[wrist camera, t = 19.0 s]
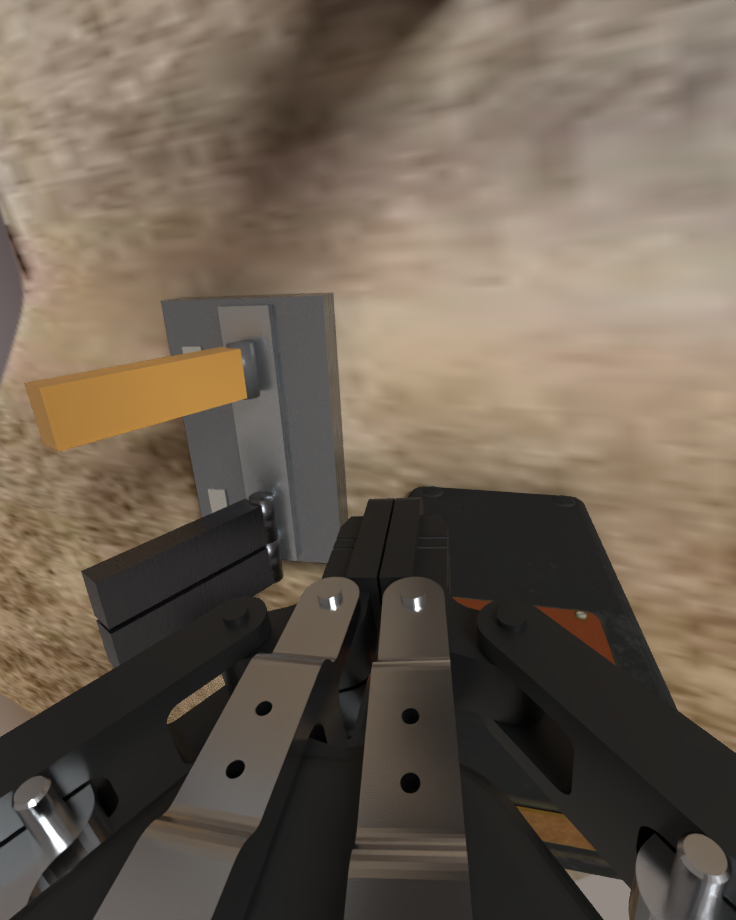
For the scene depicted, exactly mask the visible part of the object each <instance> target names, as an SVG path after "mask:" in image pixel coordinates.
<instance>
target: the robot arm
mask: <svg viewBox="0 0 736 920" xmlns="http://www.w3.org/2000/svg"><path fill="white" fill-rule="evenodd" d="M336 539H337V540H336V541H335V544H334V546H333V550H332V552H331V555H330V557H329V560H328V563H327V566H326V568H325V571H324V574H323V577H322V579H321V580H318V581H316V582H314V583H313V584H311V585H310V586H309V587H307V588H306V590H305V591H304V592H303V594H302V596H301V598H300V600H299V602H298V603H297V604H295V605H293V606H289V607H285V608H281V609H277V610H272V611H268V612H267V608H266V605H265V603H264V602H263V601H262V600H260V599H259V598H256V597H251V596H244V597H237V598H234V599H231V600H228V601H226V602H224V603H222V604H221V605H219V606H217V607H216V608H214V609H212V610H211V611H209V612H207V613H206V614H204V615H202V616H201V617H199V618H197V619H196V620H194V621H192V622H191V623H189V624H187V625H186V626H184V627H182V628H181V629H179V630H177V631H176V632H174V633H172V634H171V635H169V636H167V637H166V638H164V639H162V640H161V641H159V642H157V643H156V644H154V645H152V646H151V647H149V648H148V649H146V650H144V651H143V652H141V653H139V654H138V655H136V656H134V657H133V658H131V659H129V660H128V661H126V662H124V663H123V664H121V665H119V666H118V667H116V668H114V669H113V670H111V671H109V672H108V673H106V674H104V675H103V676H101V677H99V678H98V679H96V680H94V681H93V682H91V683H89V684H88V685H86V686H84V687H83V688H81V689H79V690H78V691H76V692H74V693H73V694H71V695H69V696H68V697H66V698H64V699H63V700H61V701H59V702H58V703H56V704H54V705H53V706H51V707H49V708H48V709H46V710H44V711H43V712H41V713H39V714H38V715H36V716H35V717H33V718H31V719H30V720H28V721H27V722H25V723H23V724H21V725H20V726H18V727H16V728H15V729H13V730H11V731H10V732H8V733H6V734H5V735H3V736H1V737H0V920H603V918H602V917H601V916H600V914H599V913H598V912H597V911H596V910H595V908H594V907H593V905H592V904H591V903H590V902H589V900H588V899H587V898H586V896H585V895H584V894H583V893H582V891H581V890H580V889H579V887H578V886H577V885H576V884H575V882H574V881H573V880H572V878H571V877H570V876H569V874H568V873H567V872H566V871H565V869H564V868H563V867H562V865H561V864H560V863H559V862H558V860H557V859H556V858H555V856H554V855H553V854H552V852H551V851H550V850H549V849H548V847H547V846H546V845H545V843H544V842H543V841H542V840H541V838H540V837H539V836H538V834H537V833H536V832H535V830H534V829H533V828H532V827H531V825H530V824H529V823H528V821H527V820H526V819H525V817H524V816H523V815H522V814H521V812H520V811H519V810H518V808H517V807H516V806H515V805H514V803H513V802H512V801H511V800H510V799H509V798H508V797H507V796H506V795H505V794H504V793H503V792H502V791H501V790H500V789H499V787H497V786H496V785H495V784H494V783H492V782H491V781H490V780H489V779H487V778H486V777H484V776H483V775H481V774H480V773H478V772H476V771H475V770H473V769H471V768H469V767H467V766H465V765H463V764H460V763H459V756H458V745H457V733H456V722H455V710H454V705H455V706H457V707H460V708H463V709H466V710H469V711H471V712H474V713H477V714H480V715H481V717H482V720H483V723H484V725H485V727H486V728H487V729H488V731H489V732H490V733H491V734H492V735H493V736H494V737H495V738H496V740H497V741H498V742H499V743H500V744H501V745H502V746H503V747H504V748H505V750H506V751H507V752H508V753H509V754H510V755H511V756H512V757H513V758H514V760H515V761H516V762H517V763H518V764H519V765H520V766H521V767H522V768H523V770H524V771H525V772H526V773H527V774H528V775H529V776H530V777H531V778H532V780H533V781H534V782H535V783H536V784H537V785H538V786H539V787H540V788H541V790H542V791H543V792H544V793H545V794H546V795H547V796H548V797H549V798H550V800H551V801H552V802H553V803H554V804H555V805H556V806H557V807H558V808H559V810H560V811H561V812H562V813H563V814H564V815H565V816H566V817H567V819H568V820H569V821H570V822H571V823H572V824H573V825H574V826H575V827H576V829H577V830H578V831H579V832H580V833H581V834H582V835H583V836H584V837H585V839H586V840H587V841H588V842H589V843H590V844H591V845H592V846H593V847H594V849H595V850H596V851H597V852H598V853H599V854H600V855H601V856H602V857H603V859H604V860H605V861H606V862H607V863H608V864H609V865H610V866H611V867H612V869H613V870H614V871H615V872H616V873H617V874H618V875H619V876H620V877H621V879H622V880H623V881H624V882H625V883H626V884H627V885H628V886H629V887H630V889H631V892H630V898H629V918H630V920H736V753H735V752H733V751H732V750H731V749H729V748H728V747H727V746H725V745H724V744H723V743H721V742H720V741H718V740H717V739H716V738H714V737H713V736H712V735H710V734H709V733H708V732H706V731H705V730H703V729H702V728H701V727H699V726H698V725H697V724H695V723H694V722H692V721H691V720H690V719H688V718H687V717H686V716H684V715H683V714H682V713H680V712H679V711H677V710H676V709H675V708H673V707H672V706H671V705H669V704H668V703H666V702H665V701H664V700H662V699H661V698H660V697H658V696H657V695H656V694H654V693H653V692H651V691H650V690H649V689H647V688H646V687H645V686H643V685H642V684H640V683H639V682H638V681H636V680H635V679H634V678H632V677H631V676H630V675H628V674H627V673H625V672H624V671H623V670H621V669H620V668H619V667H617V666H616V665H614V664H613V663H612V662H610V661H609V660H608V659H606V658H605V657H604V656H602V655H601V654H599V653H598V652H597V651H595V650H594V649H593V648H591V647H590V646H588V645H587V644H586V643H584V642H583V641H582V640H580V639H579V638H578V637H576V636H575V635H573V634H572V633H571V632H569V631H568V630H567V629H565V628H564V627H562V626H561V625H560V624H558V623H557V622H556V621H554V620H553V619H552V618H550V617H549V616H547V615H546V614H545V613H543V612H542V611H541V610H539V609H538V608H536V607H535V606H533V605H532V604H529V603H527V602H524V601H521V600H516V599H500V600H496V601H493V602H490V603H488V604H487V605H485V606H484V607H483V608H482V609H481V610H476V609H472V608H469V607H466V606H464V605H462V604H460V603H459V602H457V601H456V600H455V599H453V598H452V596H451V594H450V592H451V564H450V550H449V535H448V524H447V523H446V521H445V520H444V519H443V517H442V516H441V514H431V515H424V512H423V502H422V498H421V497H417V498H396V499H394V498H389V499H369V500H368V503H367V507H366V510H365V513H364V516H357V517H350V518H349V519H348V520H347V521H346V522H345V523H344V524H343V525H342V526H341V527H340V530H339V533H338V536H337V538H336ZM375 654H378V660H375ZM220 674H222V676H223V679H224V682H225V684H226V685H225V686H223V687H222V688H221V689H219V690H218V691H216V692H215V693H214V694H212V695H211V696H209V697H208V698H207V699H205V700H204V701H202V702H201V703H200V704H198V705H197V706H195V707H194V708H192V709H191V710H190V711H188V712H187V713H185V714H184V715H183V716H181V717H180V718H178V719H177V720H176V721H174V722H172V723H170V724H167V718H168V716H169V714H170V712H171V710H172V709H173V708H174V707H175V706H176V705H177V704H178V703H180V702H181V701H183V700H184V699H185V698H187V697H188V696H190V695H191V694H193V693H194V692H196V691H197V690H198V689H200V688H201V687H203V686H204V685H206V684H207V683H209V682H210V681H211V680H213V679H214V678H216V677H217V676H219V675H220ZM368 701H369V702H368ZM367 705H368V713H367V724H366V735H365V745H360V746H357V743H358V739H359V736H360V732H361V728H362V724H363V720H364V717H365V713H366V709H367Z"/></svg>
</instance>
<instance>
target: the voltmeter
mask: <svg viewBox="0 0 736 920" xmlns="http://www.w3.org/2000/svg"><path fill="white" fill-rule="evenodd" d="M417 497H421V498H422V502H423V512H424V515H431V514H441V516H442V517H443V519H444V520H445V521H446V523H447V524H448V535H449V550H450V564H451V592H450V594H451V596H452V598H453V599H455V600H456V601H457V602H459V603H460V604H462V605H464V606H466V607H469V608H472V609H476V610H481V609H482V608H483V607H484V606H485V605H487V604H488V603H490V602H493V601H496V600H500V599H516V600H521V601H524V602H527V603H529V604H532V605H533V606H535V607H536V608H538V609H539V610H541V611H542V612H543V613H545V614H546V615H547V616H549V617H550V618H552V619H553V620H554V621H556V622H557V623H558V624H560V625H561V626H562V627H564V628H565V629H567V630H568V631H569V632H571V633H572V634H573V635H575V636H576V637H578V638H579V639H580V640H582V641H583V642H584V643H586V644H587V645H588V646H590V647H591V648H593V649H594V650H595V651H597V652H598V653H599V654H601V655H602V656H604V657H605V658H606V659H608V660H609V661H610V662H612V663H613V664H614V665H616V666H617V667H619V668H620V669H621V670H623V671H624V672H625V673H627V674H628V675H630V676H631V677H632V678H634V679H635V680H636V681H638V682H639V683H640V684H642V685H643V686H645V687H646V688H647V689H649V690H650V691H651V692H653V693H654V694H656V695H657V696H658V697H660V698H661V699H662V700H664V701H665V702H666V703H668V704H669V705H671V706H672V707H673V708H675V709H676V710H677V708H676V706H675V703H674V701H673V699H672V697H671V695H670V692H669V690H668V688H667V686H666V684H665V681H664V679H663V677H662V675H661V673H660V670H659V668H658V666H657V664H656V662H655V659H654V657H653V655H652V653H651V651H650V648H649V646H648V644H647V642H646V640H645V637H644V635H643V633H642V631H641V628H640V626H639V624H638V622H637V620H636V617H635V615H634V613H633V611H632V609H631V606H630V604H629V602H628V600H627V598H626V595H625V593H624V591H623V589H622V587H621V584H620V582H619V580H618V578H617V576H616V573H615V571H614V569H613V567H612V565H611V562H610V560H609V558H608V556H607V554H606V551H605V549H604V547H603V545H602V543H601V540H600V538H599V536H598V534H597V532H596V529H595V527H594V525H593V523H592V521H591V518H590V516H589V514H588V512H587V509H586V507H585V505H584V503H583V502H582V501H580V500H579V499H577V498H575V497H571V496H563V495H560V496H556V495H542V494H527V493H513V492H498V491H483V490H469V489H454V488H440V487H434V486H432V487H425V486H423V487H418V488H416V489H414V490H413V491H412V492H411V493H410V496H409V498H417ZM375 660H378V654H375ZM368 702H369V701H368ZM454 710H455V722H456V733H457V745H458V756H459V763H460V764H463V765H465V766H467V767H469V768H471V769H473V770H475V771H476V772H478V773H480V774H481V775H483V776H484V777H486V778H487V779H489V780H490V781H491V782H492V783H494V784H495V785H496V786H497V787H499V789H500V790H501V791H502V792H503V793H504V794H505V795H506V796H507V797H508V798H509V799H510V800H511V801H512V802H513V803H514V805H515V806H516V807H517V808H518V810H519V811H520V812H521V814H522V815H523V816H524V817H525V819H526V820H527V821H528V823H529V824H530V825H531V827H532V828H533V829H534V830H535V832H536V833H537V834H538V836H539V837H540V838H541V840H542V841H543V842H544V843H545V845H546V846H547V847H548V849H549V850H550V851H551V852H552V854H553V855H554V856H555V858H556V859H557V860H558V862H559V863H560V864H561V865H562V867H563V868H564V869H569V870H574V871H579V872H584V873H589V874H595V875H600V876H605V877H610V878H616V879H621V877H620V876H619V875H618V874H617V873H616V872H615V871H614V870H613V869H612V867H611V866H610V865H609V864H608V863H607V862H606V861H605V860H604V859H603V857H602V856H601V855H600V854H599V853H598V852H597V851H596V850H595V849H594V847H593V846H592V845H591V844H590V843H589V842H588V841H587V840H586V839H585V837H584V836H583V835H582V834H581V833H580V832H579V831H578V830H577V829H576V827H575V826H574V825H573V824H572V823H571V822H570V821H569V820H568V819H567V817H566V816H565V815H564V814H563V813H562V812H561V811H560V810H559V808H558V807H557V806H556V805H555V804H554V803H553V802H552V801H551V800H550V798H549V797H548V796H547V795H546V794H545V793H544V792H543V791H542V790H541V788H540V787H539V786H538V785H537V784H536V783H535V782H534V781H533V780H532V778H531V777H530V776H529V775H528V774H527V773H526V772H525V771H524V770H523V768H522V767H521V766H520V765H519V764H518V763H517V762H516V761H515V760H514V758H513V757H512V756H511V755H510V754H509V753H508V752H507V751H506V750H505V748H504V747H503V746H502V745H501V744H500V743H499V742H498V741H497V740H496V738H495V737H494V736H493V735H492V734H491V733H490V732H489V731H488V729H487V728H486V727H485V725H484V723H483V720H482V717H481V715H480V714H477V713H474V712H471V711H469V710H466V709H463V708H460V707H457V706H455V705H454ZM677 711H678V710H677ZM367 713H368V705H367V709H366V713H365V717H364V720H363V724H362V728H361V732H360V736H359V739H358V743H357V746H360V745H365V735H366V724H367ZM621 880H622V879H621Z"/></svg>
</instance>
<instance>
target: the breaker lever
mask: <svg viewBox="0 0 736 920" xmlns="http://www.w3.org/2000/svg"><path fill="white" fill-rule="evenodd" d="M25 387H26V390H27V393H28V396H29V400H30V403H31V406H32V409H33V413H34V416H35V419H36V422H37V426H38V429H39V432H40V435H41V439H42V442H43V444H44V445H46V446H48V447H50V448H52V449H54V450H56V451H58V452H59V451H63V450H66V449H70V448H73V447H77V446H80V445H84V444H87V443H91V442H94V441H98V440H101V439H105V438H108V437H112V436H116V435H119V434H123V433H126V432H130V431H133V430H137V429H140V428H144V427H147V426H151V425H154V424H158V423H161V422H165V421H168V420H172V419H176V418H179V417H183V416H186V415H190V414H193V413H197V412H200V411H204V410H207V409H211V408H214V407H218V406H221V405H225V404H229V403H232V402H236V401H239V400H248V399H254V398H257V397H259V396H260V388H259V380H258V372H257V365H256V357H255V349H254V342H252V341H239V342H231V343H227V344H226V347H218V348H212V349H207V350H202V351H196V352H191V353H185V354H180V355H175V356H169V357H164V358H158V359H153V360H147V361H142V362H137V363H131V364H126V365H120V366H115V367H109V368H104V369H99V370H93V371H88V372H82V373H77V374H72V375H66V376H61V377H55V378H50V379H44V380H39V381H34V382H28V383H25Z"/></svg>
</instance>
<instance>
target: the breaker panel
mask: <svg viewBox="0 0 736 920" xmlns="http://www.w3.org/2000/svg"><path fill="white" fill-rule="evenodd" d="M161 304H162V310H163V315H164V320H165V325H166V331H167V336H168V341H169V347H170V352H171V356H175V355H180V354H185V353H191V352H196V351H202V350H207V349H212V348H218V347H226V344H227V343H231V342H239V341H252V342H254V349H255V357H256V365H257V372H258V380H259V388H260V396H259V397H257V398H254V399H248V400H239V401H236V402H232V403H229V404H225V405H221V406H218V407H214V408H211V409H207V410H204V411H200V412H197V413H193V414H190V415H186V416H183V420H184V425H185V431H186V436H187V441H188V446H189V452H190V457H191V462H192V467H193V473H194V478H195V483H196V488H197V494H198V499H199V504H200V509H201V515H202V518H200V519H198V520H195V521H193V522H191V523H189V524H186V525H184V526H182V527H180V528H177V529H175V530H173V531H171V532H168V533H166V534H164V535H162V536H159V537H157V538H155V539H153V540H150V541H148V542H146V543H144V544H141V545H139V546H137V547H135V548H132V549H130V550H128V551H126V552H123V553H121V554H119V555H117V556H114V557H112V558H110V559H108V560H105V561H103V562H101V563H99V564H96V565H94V566H92V567H89V568H87V569H85V570H83V571H81V572H82V575H83V579H84V582H85V585H86V588H87V592H88V595H89V598H90V601H91V605H92V608H93V611H94V614H95V616H96V617H97V618H98V620H96V621H97V624H98V627H99V631H100V634H101V637H102V640H103V644H104V647H105V650H106V653H107V657H108V660H109V662H110V663H111V664H112V665H113V666H114V667H115V668H116V667H118V666H119V665H121V664H123V663H124V662H126V661H128V660H129V659H131V658H133V657H134V656H136V655H138V654H139V653H141V652H143V651H144V650H146V649H148V648H149V647H151V646H152V645H154V644H156V643H157V642H159V641H161V640H162V639H164V638H166V637H167V636H169V635H171V634H172V633H174V632H176V631H177V630H179V629H181V628H182V627H184V626H186V625H187V624H189V623H191V622H192V621H194V620H196V619H197V618H199V617H201V616H202V615H204V614H206V613H207V612H209V611H211V610H212V609H214V608H216V607H217V606H219V605H221V604H222V603H224V602H226V601H228V600H231V599H234V598H237V597H244V596H251V597H253V596H254V595H256V594H257V593H259V592H261V591H262V590H264V589H265V588H267V587H269V586H270V585H272V584H273V583H277V582H279V581H280V580H281V579H282V578H283V569H282V562H281V560H289V561H303V562H317V563H328V560H329V557H330V555H331V552H332V550H333V546H334V544H335V541H336V540H337V539H336V538H337V536H338V533H339V530H340V527H341V526H342V525H343V524H344V523H345V522H346V521H347V520H348V513H347V497H346V482H345V467H344V452H343V436H342V421H341V406H340V390H339V375H338V360H337V345H336V329H335V314H334V299H333V293H312V294H282V295H251V296H221V297H190V298H177V299H170V300H164V301H161Z"/></svg>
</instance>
